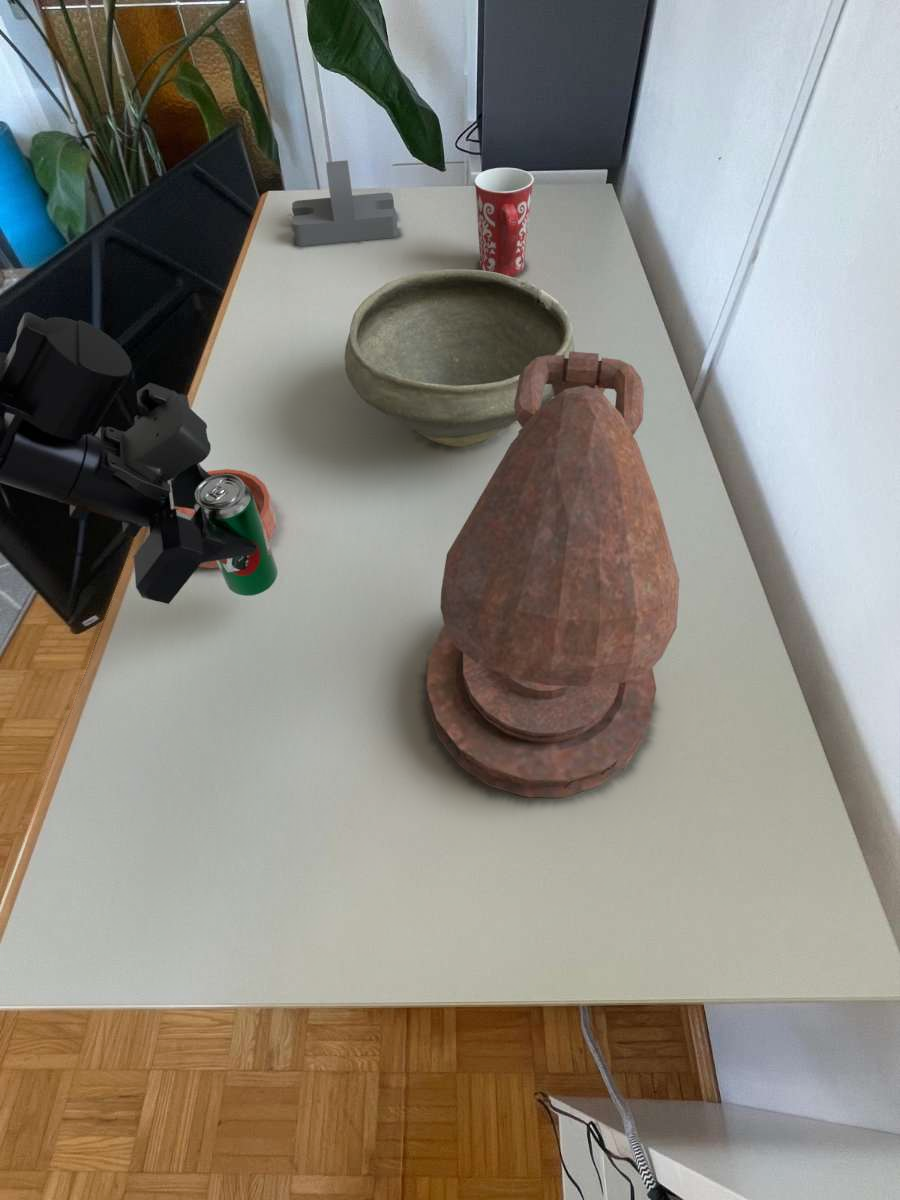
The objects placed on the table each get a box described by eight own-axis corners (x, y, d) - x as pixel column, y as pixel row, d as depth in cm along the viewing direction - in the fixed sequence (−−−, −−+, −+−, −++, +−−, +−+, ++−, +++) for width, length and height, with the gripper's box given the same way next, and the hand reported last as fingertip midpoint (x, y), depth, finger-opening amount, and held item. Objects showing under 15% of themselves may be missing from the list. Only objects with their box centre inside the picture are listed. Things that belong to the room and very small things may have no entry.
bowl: (475, 524, 80) (475, 427, 69) (312, 429, 92) (289, 331, 81) (607, 405, 93) (625, 306, 82) (449, 334, 104) (446, 238, 93)
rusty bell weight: (389, 861, 58) (283, 532, 26) (453, 567, 77) (438, 168, 45) (648, 904, 55) (885, 598, 23) (648, 589, 74) (779, 182, 42)
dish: (165, 577, 77) (151, 553, 74) (177, 500, 84) (165, 475, 81) (276, 564, 78) (267, 540, 75) (278, 488, 85) (270, 464, 82)
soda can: (289, 575, 69) (261, 487, 60) (250, 607, 67) (215, 520, 57) (255, 552, 71) (223, 462, 62) (216, 582, 69) (177, 494, 59)
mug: (471, 255, 118) (471, 168, 108) (524, 251, 119) (529, 164, 108) (479, 294, 111) (479, 205, 100) (535, 290, 111) (542, 200, 100)
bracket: (398, 237, 123) (392, 170, 115) (296, 246, 122) (282, 180, 113) (393, 212, 129) (387, 147, 120) (296, 221, 128) (283, 156, 119)
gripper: (124, 471, 44) (322, 545, 55) (114, 321, 55) (281, 406, 66) (53, 580, 49) (247, 628, 60) (56, 422, 60) (220, 487, 71)
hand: (250, 530), depth 64 cm, fingers closed on soda can, 5 cm apart
